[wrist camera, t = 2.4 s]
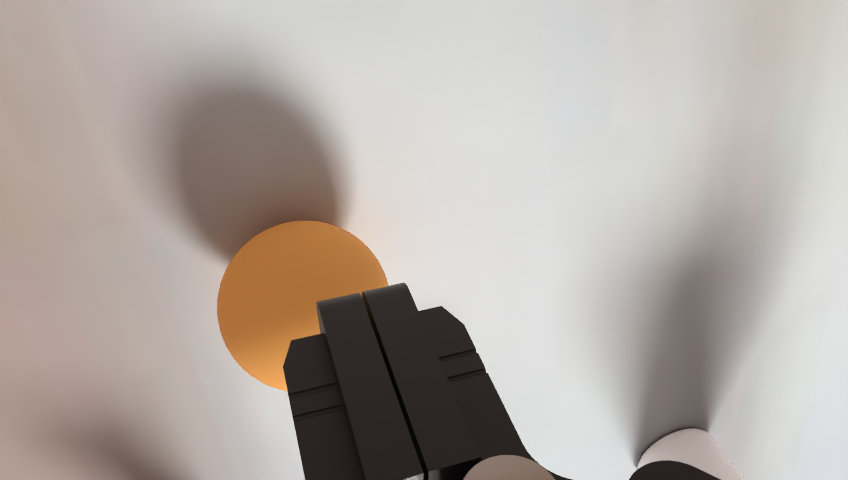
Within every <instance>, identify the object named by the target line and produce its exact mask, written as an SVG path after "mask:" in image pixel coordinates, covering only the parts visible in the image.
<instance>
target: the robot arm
mask: <svg viewBox="0 0 848 480" xmlns="http://www.w3.org/2000/svg"><path fill="white" fill-rule="evenodd" d="M316 308H317V315H318V321H319V328H320V334H317V335H312V336H308V337H304V338H299V339H295V340H291V342H290V346H289V349H288V352H287V355H286V358H285V362H284V365H283V370H284V375H285V380H286V385H287V390H288V395H289V400H290V405H291V410H292V415H293V420H294V425H295V430H296V435H297V440H298V445H299V450H300V455H301V460H302V465H303V470H304V475H305V480H572V479H567V478H564V477H561V476H559V475H556V474H554V473H552V472H550V471H548V470H547V469H545V468H544V467H542V466H541V465H540V464H538V463H537V462H536V461H535V460H534V459H533V458H532V457H531V456H530V454H529V453H528V452H527V450H526V449H525V447H524V445H523V444H522V442H521V440H520V438H519V435H518V433H517V431H516V429H515V427H514V425H513V423H512V421H511V419H510V417H509V415H508V413H507V411H506V409H505V407H504V405H503V403H502V401H501V399H500V397H499V395H498V393H497V391H496V389H495V387H494V385H493V383H492V381H491V379H490V377H489V375H488V373H486V370H485V367H484V364H483V362H482V360H481V358H480V356H479V354H478V353H476V348H475V346H474V344H473V342H472V340H471V338H470V336H469V334H468V332H467V330H466V328H465V326H464V324H463V323H461V322H460V321H459V320H458V319H457V318H455V317H454V316H453V315H452V314H451V313H449V312H448V311H447V310H446V309H445V308H443V307H442V306H440V307H435V308H431V309H426V310H422V311H418V309H417V307H416V305H415V302H414V300H413V298H412V296H411V293H410V291H409V289H408V287H407V285H406V284H405V283H400V284H396V285H391V286H386V287H382V288H377V289H372V290H368V291H363V292H362V297H361V295H360V293H355V294H350V295H346V296H341V297H336V298H332V299H327V300H322V301H318V302H316ZM629 480H721V479H719V478H717V477H714V476H712V475H710V474H708V473H706V472H704V471H702V470H700V469H698V468H696V467H694V466H691V465H689V464H686V463H682V462H678V461H671V460H661V461H655V462H651V463H648V464H645V465H644V466H642V467H640V468H639V469H638V470H637V471H635V472H634V473H633V475H632V476H631V478H630V479H629Z"/></svg>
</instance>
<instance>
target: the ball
mask: <svg viewBox="0 0 848 480" xmlns="http://www.w3.org/2000/svg"><path fill="white" fill-rule="evenodd" d="M386 286H388V283H387V279H386V276H385V273H384V271H383V269H382V267H381V265H380V263H379V261H378V260H377V258H376V257H375V256H374V254H373V253H372V252H371V251H370V249H369V248H368V247H367V246H366V245H365V244H364V243H363V242H362V241H360V240H359V239H358V238H357V237H355V236H354V235H352V234H351V233H349V232H347V231H345V230H343V229H341V228H339V227H337V226H334V225H331V224H328V223H323V222H318V221H308V220H307V221H292V222H287V223H282V224H279V225H276V226H273V227H271V228H269V229H266V230H264V231H263V232H261V233H259V234H258V235H256V236H255V237H253V238H252V239H251V240H249V241H248V242H247V243H246V244H245V245H244V246H243V247H242V248H241V249H240V250H239V251H238V252H237V254H236V255H235V256H234V258H233V259H232V260H231V262H230V263H229V265H228V267H227V269H226V271H225V273H224V276H223V278H222V281H221V284H220V289H219V294H218V300H217V316H218V322H219V327H220V331H221V334H222V337H223V340H224V342H225V344H226V347H227V348H228V350H229V352H230V353H231V355H232V356H233V358H234V359H235V360H236V362H237V363H238V364H239V365H240V366H241V367H242V368H243V369H244V370H245V371H246V372H247V373H249V374H250V375H251V376H253V377H254V378H256V379H257V380H259V381H261V382H262V383H264V384H266V385H269V386H271V387H274V388H277V389H280V390H284V391H288V390H287V385H286V380H285V375H284V370H283V365H284V362H285V358H286V355H287V352H288V349H289V346H290V342H291V340H295V339H299V338H304V337H308V336H312V335H317V334H320V328H319V321H318V315H317V308H316V302H318V301H322V300H327V299H332V298H336V297H341V296H346V295H350V294H355V293H360V295H361V297H362V292H363V291H368V290H372V289H377V288H382V287H386Z"/></svg>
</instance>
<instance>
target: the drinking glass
mask: <svg viewBox="0 0 848 480" xmlns="http://www.w3.org/2000/svg"><path fill="white" fill-rule="evenodd" d="M661 460H671V461H678V462H682V463H686V464H689V465H691V466H694V467H696V468H698V469H700V470H702V471H704V472H706V473H708V474H710V475H712V476H714V477H717V478H719V479H721V480H746V479H745V478H744V476H743V475H742V474H741V473H740V472H739V470H738V469H737V468H736V467H735V466H734V464H733V463H732V462H731V461H730V460H729V458H728V457H727V456H726V455H725V453H724V452H723V450H722V449H721V448H720V446H719V445H718V444H717V442H716V441H715V439H714V438H713V437H712V436H711V435H710V434H709V433H707V432H706V431H704V430H701V429H695V428H690V429H683V430H679V431H676V432H673V433H671V434H669V435H667V436H665V437H663V438H661V439H660V440H658V441H657V442H655V443H654V444H653V445H652V446H650V447H649V448H648V449H647V450H646V452H645V453H644V454H643V456H642V457H641V459H640V461H639V464H638V469H639V468H640V467H642V466H644V465H645V464H648V463H651V462H655V461H661Z"/></svg>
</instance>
